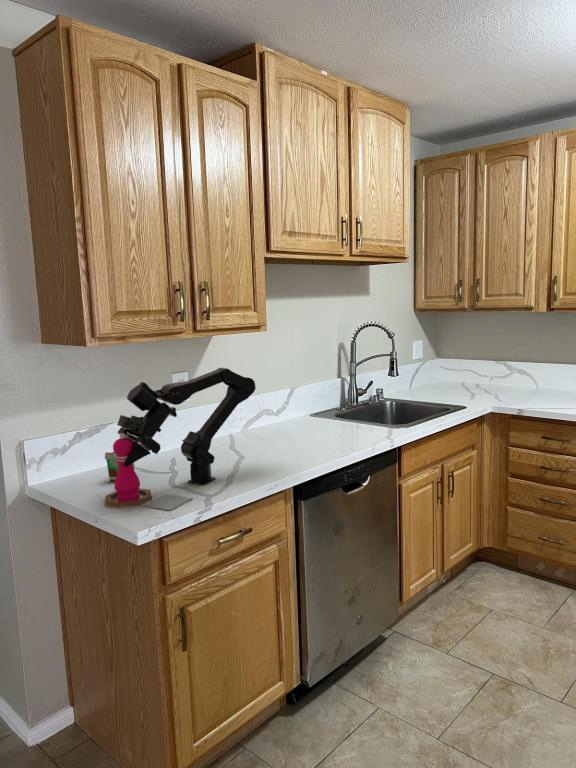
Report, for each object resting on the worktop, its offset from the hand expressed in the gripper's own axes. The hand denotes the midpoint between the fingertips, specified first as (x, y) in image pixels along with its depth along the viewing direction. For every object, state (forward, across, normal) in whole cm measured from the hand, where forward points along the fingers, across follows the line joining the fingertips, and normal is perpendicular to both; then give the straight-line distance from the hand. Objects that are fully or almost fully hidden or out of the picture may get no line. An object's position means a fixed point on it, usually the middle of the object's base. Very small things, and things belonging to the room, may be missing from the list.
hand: (120, 464), depth 172 cm
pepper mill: (+7, 0, +9) cm, 11 cm away
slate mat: (+2, +11, +14) cm, 18 cm away
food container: (+1, -21, +15) cm, 26 cm away
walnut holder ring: (+7, 0, +9) cm, 11 cm away
